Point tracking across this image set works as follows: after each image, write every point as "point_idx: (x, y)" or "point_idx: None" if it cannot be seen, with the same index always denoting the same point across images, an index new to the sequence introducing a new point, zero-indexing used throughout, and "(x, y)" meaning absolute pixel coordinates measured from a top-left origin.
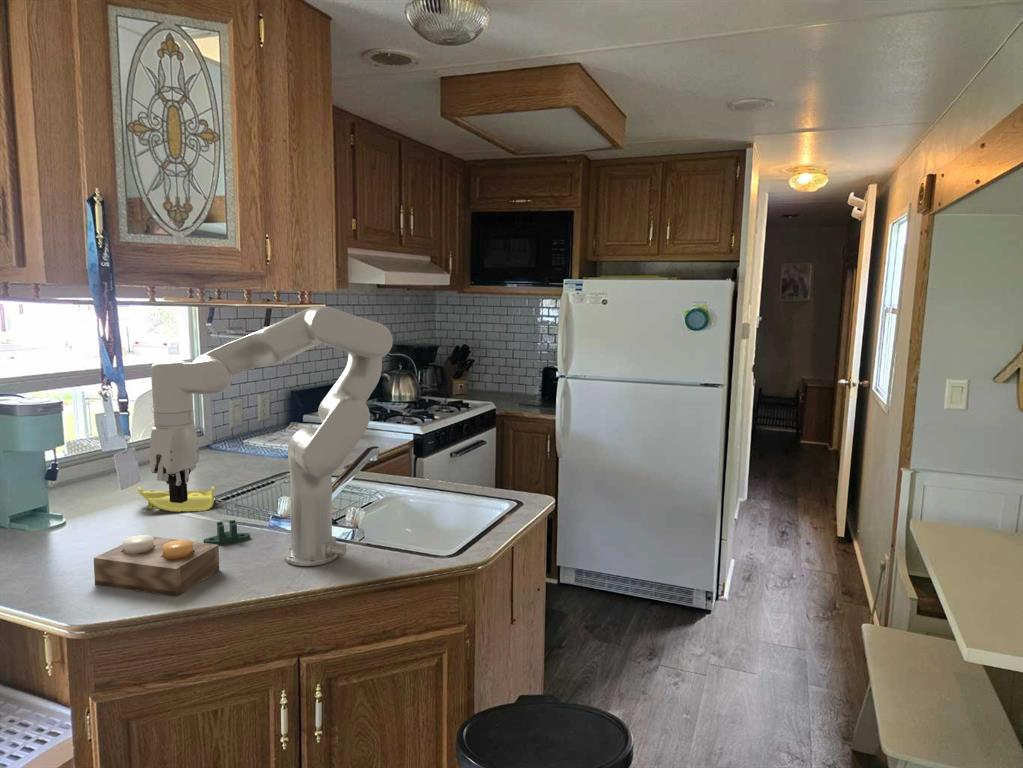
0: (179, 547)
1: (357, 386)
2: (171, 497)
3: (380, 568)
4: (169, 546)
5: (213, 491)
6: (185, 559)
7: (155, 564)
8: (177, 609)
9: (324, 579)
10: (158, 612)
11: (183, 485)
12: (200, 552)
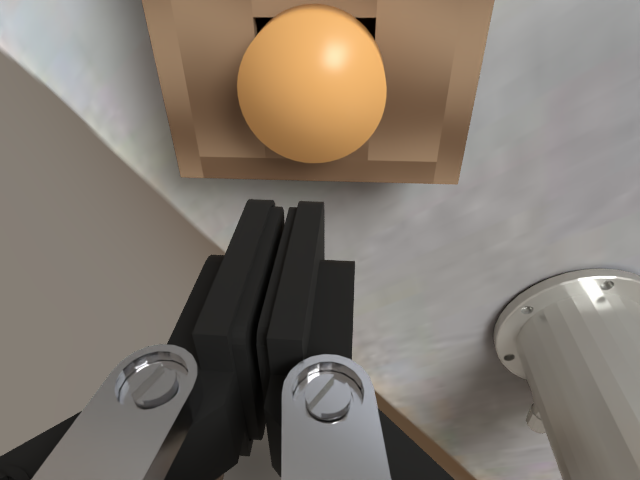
0: (285, 125)
1: None
2: (210, 267)
3: (498, 445)
4: (277, 68)
5: None
6: (270, 153)
7: (172, 67)
8: (150, 183)
9: (422, 386)
10: (110, 146)
11: (250, 448)
12: (356, 165)
